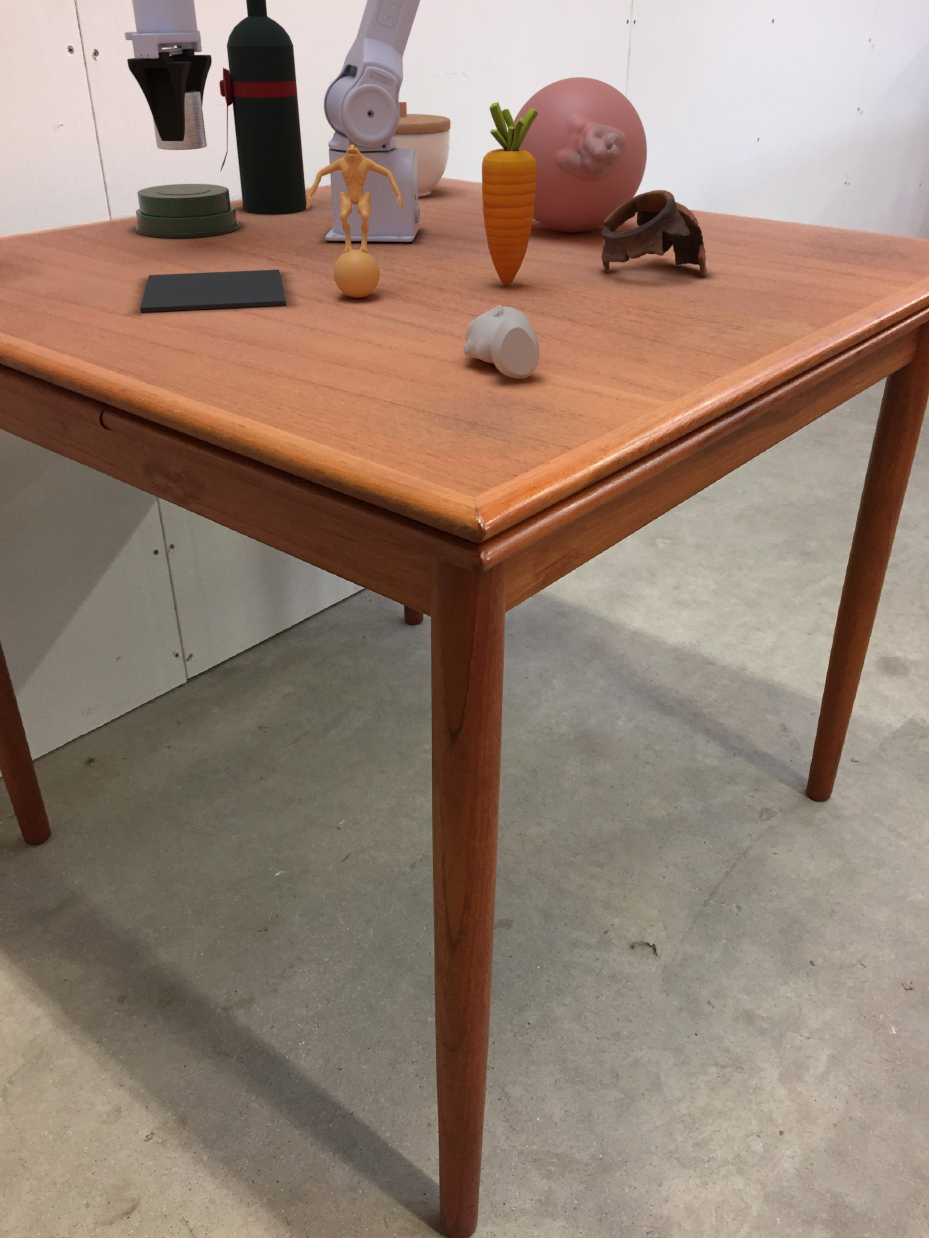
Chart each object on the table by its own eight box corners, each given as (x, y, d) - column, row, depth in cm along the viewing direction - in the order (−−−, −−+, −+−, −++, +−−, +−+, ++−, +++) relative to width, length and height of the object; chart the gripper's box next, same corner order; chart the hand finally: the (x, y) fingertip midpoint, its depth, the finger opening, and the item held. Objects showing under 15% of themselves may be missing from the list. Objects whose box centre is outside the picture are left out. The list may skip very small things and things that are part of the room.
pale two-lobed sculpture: (468, 366, 75) (533, 344, 75) (479, 400, 68) (551, 375, 68) (450, 311, 73) (517, 287, 73) (460, 339, 66) (534, 314, 66)
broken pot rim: (719, 289, 93) (689, 211, 88) (623, 329, 96) (589, 256, 91) (706, 230, 101) (679, 155, 96) (618, 269, 105) (587, 198, 99)
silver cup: (212, 144, 104) (206, 89, 101) (198, 150, 99) (191, 92, 97) (166, 144, 104) (158, 88, 101) (150, 150, 100) (141, 92, 97)
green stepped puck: (250, 219, 120) (246, 182, 117) (225, 239, 110) (220, 199, 108) (154, 218, 120) (149, 181, 118) (120, 237, 110) (114, 198, 108)
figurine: (307, 302, 87) (295, 150, 80) (316, 286, 92) (305, 141, 85) (404, 303, 87) (399, 150, 80) (407, 286, 92) (403, 141, 85)
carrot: (539, 282, 93) (547, 100, 85) (525, 294, 89) (531, 105, 81) (489, 277, 95) (491, 99, 87) (472, 290, 91) (472, 103, 83)
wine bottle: (224, 205, 128) (191, -81, 112) (304, 202, 130) (283, -80, 114) (224, 216, 122) (188, -86, 106) (308, 213, 123) (286, -85, 108)
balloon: (513, 254, 103) (517, 85, 95) (498, 219, 120) (501, 73, 112) (661, 253, 104) (678, 85, 96) (626, 218, 121) (638, 73, 113)
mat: (279, 273, 96) (278, 269, 96) (286, 305, 86) (285, 300, 86) (149, 279, 94) (148, 275, 93) (140, 312, 84) (139, 307, 83)
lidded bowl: (346, 200, 132) (341, 105, 126) (370, 185, 142) (366, 97, 136) (441, 202, 130) (440, 107, 124) (458, 187, 140) (457, 99, 135)
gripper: (144, -21, 101) (165, 129, 108) (88, -24, 88) (116, 146, 95) (213, -21, 100) (230, 130, 107) (167, -24, 88) (189, 146, 95)
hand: (181, 137), depth 101 cm, fingers closed on silver cup, 5 cm apart
